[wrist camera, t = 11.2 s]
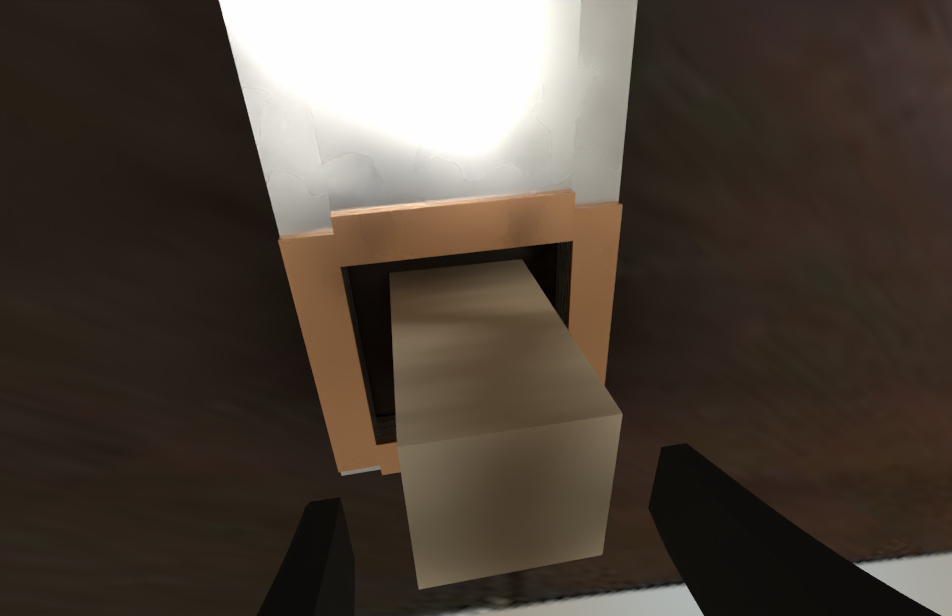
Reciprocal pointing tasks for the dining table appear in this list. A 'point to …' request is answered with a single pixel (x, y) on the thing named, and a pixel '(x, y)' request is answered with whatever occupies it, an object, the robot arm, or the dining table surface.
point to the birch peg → (496, 425)
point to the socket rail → (433, 158)
